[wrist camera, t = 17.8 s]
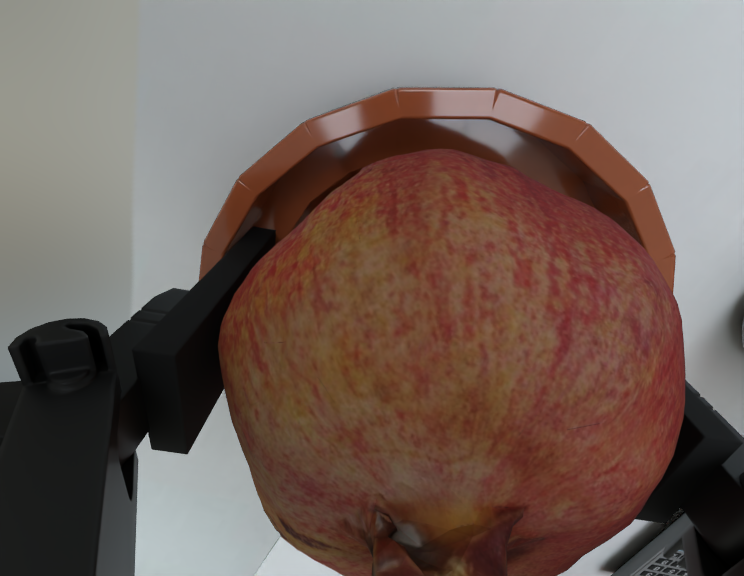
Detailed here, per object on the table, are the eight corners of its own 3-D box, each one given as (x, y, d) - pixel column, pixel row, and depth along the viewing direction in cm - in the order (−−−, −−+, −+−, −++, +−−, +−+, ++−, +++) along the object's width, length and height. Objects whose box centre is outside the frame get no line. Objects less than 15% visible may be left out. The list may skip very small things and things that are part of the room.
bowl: (188, 231, 17) (100, 294, 12) (483, -16, 12) (549, -89, 7) (377, 423, 23) (373, 523, 18) (631, 304, 18) (729, 393, 13)
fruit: (367, 413, 17) (337, 755, 8) (221, 240, 13) (-114, 536, 5) (603, 318, 14) (953, 707, 5) (502, 57, 10) (1162, -126, 1)
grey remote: (815, 429, 19) (783, 403, 21) (607, 596, 28) (596, 570, 30) (885, 446, 19) (848, 420, 21) (657, 606, 29) (643, 579, 30)
